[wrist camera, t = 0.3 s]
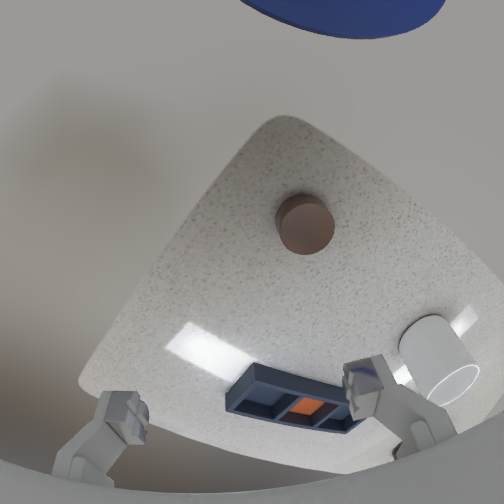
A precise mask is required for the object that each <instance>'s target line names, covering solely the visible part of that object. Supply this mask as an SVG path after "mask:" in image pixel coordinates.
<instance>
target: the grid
mask: <svg viewBox="0 0 504 504" xmlns="http://www.w3.org/2000/svg"><path fill="white" fill-rule="evenodd" d="M349 402H350V401H349V400H347V399H346V397H345V394H344V390H343V388H340V387H336V386H332V385H328V384H325V383H321V382H317V381H313V380H310V379H306V378H303V377H299V376H296V375H292V374H289V373H286V372H282V371H279V370H276V369H272V368H269V367H266V366H263V365H260V364H257V363H253V364H252V365H251V366H250V367H249V369H248V370H247V371H246V372H245V373H244V374H243V375H242V377H241V378H240V379H239V380H238V381H237V382H236V383H235V385H234V386H233V387H232V388H231V389H230V390H229V391H228V392H227V394H226V395H225V406H226V412H230V413H234V414H238V415H242V416H246V417H250V418H255V419H259V420H264V421H268V422H273V423H278V424H283V425H288V426H294V427H299V428H305V429H311V430H318V431H325V432H332V433H340V434H346V433H348V432H349V431H351V430H352V429H353V428H355V427H356V426H357V425H359V424H360V423H361V422H362V421H364V420H365V419H366V418H363V419H359V420H355V421H353V419H352V416H351V413H350V410H349ZM367 418H368V417H367Z"/></svg>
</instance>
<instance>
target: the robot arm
mask: <svg viewBox="0 0 504 504" xmlns="http://www.w3.org/2000/svg"><path fill="white" fill-rule="evenodd" d="M343 371H344V374H345V375H344V376H343V380H342V383H343V390H344V394H345V397H346V399H347V400H349V401H350V402H349V410H350V413H351V416H352V419H353V421H355V420H359V419H363V418H367V417H371V416H374V417H375V418H376V419H377V420H378V421H379V422H381V423H382V424H383V425H384V426H386V427H387V428H388V429H389V430H391V431H392V432H393V433H394V434H396V435H397V436H398V437H399V438H401V439H402V440H403V442H402V444H401V446H400V447H399V449H398V451H397V453H396V456H397V458H398V459H397V460H395V461H392V462H389V463H386V464H382V465H379V466H376V467H373V468H369V469H366V470H362V471H359V472H355V473H351V474H347V475H343V476H339V477H335V478H331V479H326V480H322V481H316V482H311V483H306V484H300V485H294V486H288V487H281V488H274V489H265V490H256V491H245V492H231V493H203V494H202V493H201V494H200V493H198V494H197V493H192V494H191V493H162V492H146V491H135V490H127V489H118V488H114V481H113V480H112V479H110V478H109V477H108V476H106V475H105V474H106V473H107V471H108V470H109V469H110V467H111V466H112V465H113V463H114V462H115V461H116V460H117V458H118V457H119V456H120V454H121V453H122V452H123V450H124V449H125V448H126V446H127V444H133V445H134V444H135V445H137V444H138V445H144V444H145V440H146V434H147V431H146V429H145V428H144V427H145V426H146V425H147V424H148V422H149V410H148V407H147V405H146V404H145V402H143V401H141V400H140V395H139V394H138V392H137V391H103V392H102V393H101V396H100V399H99V402H98V405H97V409H96V412H95V415H94V418H93V421H90V422H89V423H88V424H87V425H86V426H84V427H83V428H82V429H81V430H80V431H79V432H78V433H77V434H76V435H75V436H74V437H73V438H72V439H71V440H70V441H69V442H68V443H67V444H66V445H64V447H63V448H61V449H60V450H59V451H58V453H57V456H56V459H55V463H54V467H53V470H52V473H51V475H48V474H44V473H40V472H37V471H34V470H30V469H27V468H24V467H21V466H18V465H15V464H12V463H9V462H6V461H4V460H1V459H0V504H504V410H503V411H502V412H500V413H498V414H496V415H494V416H493V417H491V418H489V419H487V420H486V421H484V422H482V423H480V424H478V425H476V426H474V427H472V428H470V429H468V430H466V431H464V432H462V433H460V434H457V432H456V430H455V428H454V426H453V424H452V422H451V420H450V418H449V416H448V414H447V412H446V410H445V409H443V408H441V407H440V406H438V405H436V404H434V403H433V402H431V401H429V400H427V399H426V398H424V397H422V396H421V395H419V394H417V393H415V392H414V391H412V390H410V389H409V388H407V387H405V386H403V385H402V384H399V385H397V383H396V381H395V379H394V377H393V375H392V373H391V371H390V369H389V367H388V365H387V363H386V361H385V359H384V357H383V355H381V354H380V355H376V356H373V357H369V358H364V359H360V360H356V361H352V362H349V363H345V364H344V366H343Z"/></svg>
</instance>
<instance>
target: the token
mask: <svg viewBox="0 0 504 504" xmlns="http://www.w3.org/2000/svg"><path fill="white" fill-rule="evenodd" d="M276 224H277V228H278V231H279V234H280V237H281V240H282V242H283V244H284V245H285V246H286V248H287V249H289V250H290V251H292V252H294V253H297V254H301V255H309V254H313V253H316V252H318V251H320V250H322V249H323V248H324V247H325V246H327V244H328V243H329V242H330V240H331V239H332V237H333V234H334V228H335V225H334V219H333V217H332V215H331V213H330V212H329V211H328V209H327V208H326V207H325V206H324V204H323V203H322V202H321V201H320V200H319V199H317V198H316V197H314V196H311V195H305V194H303V195H296V196H293V197H291V198H289V199H288V200H286V201H285V202H284V203H283V204H282V205H281V207H280V208H279V210H278V213H277V217H276Z"/></svg>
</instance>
